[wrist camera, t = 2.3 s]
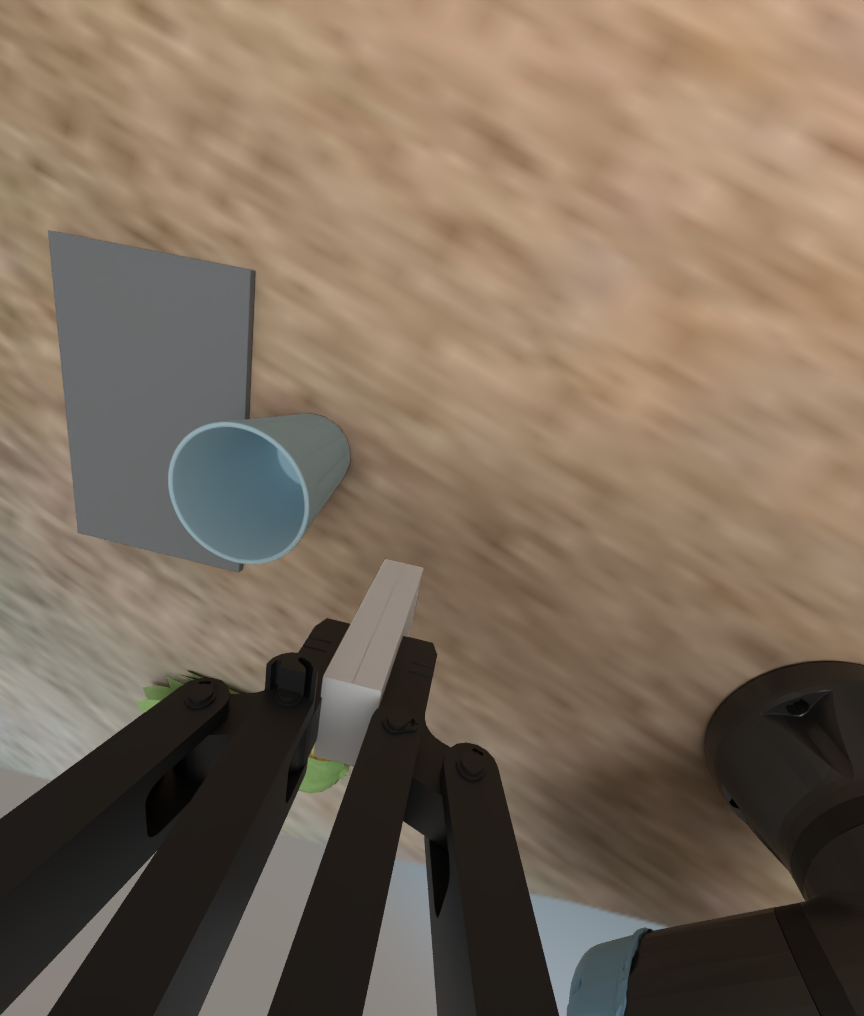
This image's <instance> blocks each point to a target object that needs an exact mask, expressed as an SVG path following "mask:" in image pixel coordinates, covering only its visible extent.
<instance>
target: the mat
mask: <svg viewBox="0 0 864 1016" xmlns="http://www.w3.org/2000/svg"><path fill="white" fill-rule="evenodd" d="M48 236H49V246H50V256H51V266H52V276H53V286H54V297H55V307H56V317H57V327H58V337H59V347H60V357H61V367H62V377H63V387H64V397H65V408H66V418H67V428H68V438H69V448H70V458H71V468H72V478H73V488H74V498H75V509H76V519H77V529H78V533H80V534H84V535H88V536H92V537H97V538H101V539H105V540H109V541H113V542H117V543H121V544H125V545H129V546H133V547H137V548H141V549H145V550H149V551H153V552H157V553H162V554H166V555H170V556H174V557H178V558H182V559H186V560H190V561H194V562H198V563H202V564H206V565H210V566H214V567H218V568H223V569H227V570H231V571H235V572H240V571H241V570H242V569H243V563H237V562H233V561H230V560H227V559H224V558H222V557H220V556H217V555H216V554H214V553H212V552H210V551H209V550H207V549H206V548H205V547H203V546H202V545H201V544H200V543H198V542H197V541H196V540H195V539H194V538H193V537H192V536H191V535H190V533H189V532H188V531H187V530H186V529H185V527H184V526H183V524H182V523H181V521H180V520H179V518H178V516H177V514H176V512H175V510H174V507H173V504H172V501H171V498H170V494H169V487H168V472H169V466H170V462H171V459H172V456H173V454H174V451H175V450H176V448H177V446H178V445H179V444H180V442H181V441H182V440H183V439H184V438H185V437H186V436H187V435H188V434H189V433H191V432H192V431H194V430H195V429H197V428H199V427H201V426H204V425H207V424H210V423H214V422H223V421H233V420H246V419H249V409H250V385H251V361H252V338H253V314H254V291H255V271H253V270H249V269H244V268H239V267H234V266H228V265H223V264H218V263H213V262H208V261H203V260H198V259H193V258H187V257H182V256H177V255H172V254H167V253H162V252H157V251H151V250H146V249H141V248H136V247H131V246H126V245H121V244H116V243H110V242H105V241H100V240H95V239H90V238H85V237H80V236H75V235H69V234H64V233H59V232H54V231H49V230H48Z"/></svg>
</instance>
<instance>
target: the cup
mask: <svg viewBox="0 0 864 1016" xmlns="http://www.w3.org/2000/svg"><path fill="white" fill-rule="evenodd" d="M349 464H350V449H349V444H348V441H347V439H346V437H345V435H344V434H343V432H342V431H341V429H340V428H339V427H338V426H337V425H336V424H334V423H333V422H332V421H330V420H329V419H327V418H326V417H323V416H319V415H315V414H296V415H286V416H276V417H266V418H256V419H246V420H233V421H223V422H214V423H210V424H207V425H204V426H201V427H199V428H197V429H195V430H194V431H192V432H191V433H189V434H188V435H187V436H186V437H185V438H184V439H183V440H182V441H181V442H180V444H179V445H178V446H177V448H176V450H175V451H174V454H173V456H172V459H171V462H170V466H169V472H168V487H169V494H170V498H171V501H172V504H173V507H174V510H175V512H176V514H177V516H178V518H179V520H180V521H181V523H182V524H183V526H184V527H185V529H186V530H187V531H188V532H189V533H190V535H191V536H192V537H193V538H194V539H195V540H196V541H197V542H198V543H200V544H201V545H202V546H203V547H205V548H206V549H207V550H209V551H210V552H212V553H214V554H216V555H217V556H220V557H222V558H224V559H227V560H230V561H233V562H237V563H243V564H262V563H267V562H271V561H274V560H276V559H278V558H280V557H282V556H284V555H285V554H287V553H288V552H289V551H291V550H292V549H293V548H294V547H295V546H296V544H297V543H298V542H299V541H300V539H301V538H302V536H303V535H304V533H305V532H306V531H307V529H308V528H309V526H310V525H311V523H312V522H313V520H314V519H315V518H316V516H317V515H318V513H319V512H320V510H321V509H322V508H323V506H324V505H325V503H326V502H327V500H328V499H329V498H330V496H331V495H332V493H333V492H334V490H335V489H336V488H337V486H338V485H339V483H340V482H341V480H342V479H343V477H344V476H345V474H346V472H347V469H348V466H349Z"/></svg>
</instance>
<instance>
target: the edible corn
mask: <svg viewBox="0 0 864 1016" xmlns="http://www.w3.org/2000/svg"><path fill="white" fill-rule="evenodd" d="M188 672H189V671H188ZM190 673H191V674H192V675H194V676H195V677H197V678H198V679H199V678H203V677H201V676H199V675H196V674H194V673H192V672H190ZM180 676H181V675H180ZM183 677H185V676H183ZM167 678H168V677H167ZM185 678H187V679H190V680H194V679H191V678H188V677H185ZM168 682H169V685H170V687H171V688H170V687H163V686H150V687H143V689H144V691H145V694H146V697H147V698H148V699H149V700H148V699H146V700H142V701H138V702H136V704H137V705H138V706H139V708H140V709H141V710H142V712H144V713H145V712H146V711H148V710H149V709H150V708H152V707H153V706H154V705H156V704H157V703H158V702H160V701H161V700H162V699H164V698H165V697H167V696H168V695H169V694H171V693H172V692H173V691H175V690H176V689H177V688H179V687H180V686H182V685H184V684H182V683H180V682H177V681H175V680H173V679H171V678H168ZM229 691H230V694H241V693H238V692H236V691H233V690H231V689H229ZM314 747H315V744H314ZM314 747H313V749H312V751H311V753H310V755H309V757H308V764H307V770H306V774H305V776H304V779H303V781H302V783H301V785H300V788H299V790H298V791H302V792H306V793H315V792H322V791H324V790H326V789H328V788H330V787H332V786H333V785H334V784H336V783H337V781H338V780H339V778H343V779H344V778H345V776H346V774H347V771H348V769H349V766H350V765H347V764H343V763H339V762H336V761H332V760H328V759H324V758H321V757H317V756H313V755H314Z"/></svg>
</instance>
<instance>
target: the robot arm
mask: <svg viewBox="0 0 864 1016" xmlns="http://www.w3.org/2000/svg"><path fill="white" fill-rule="evenodd" d="M422 573H423V567H418V566H414V565H410V564H406V563H401V562H397V561H393V560H388V559H385V560H384V562H383V564H382V565H381V567H380V569H379V571H378V573H377V575H376V577H375V579H374V581H373V583H372V584H371V586H370V588H369V590H368V592H367V594H366V596H365V598H364V600H363V602H362V603H361V605H360V607H359V609H358V611H357V613H356V615H355V617H354V619H353V621H352V622H351V624H349V623H345V622H341V621H337V620H332V619H328V618H327V619H325V620H324V621H322V622H321V623H319V624H318V625H316V626H315V627H314V629H313V630H312V632H311V633H310V635H309V637H308V639H307V640H306V641H305V643H304V644H303V647H301V649H300V651H299V652H298V653H293V652H291V653H285V654H281V655H278V656H276V657H274V658H272V659H271V660H270V661H269V662H268V663H267V667H266V682H265V690H264V691H261V692H257V693H243V694H230V691H229V688H228V686H227V685H226V684H225V683H224V682H222V681H221V680H218V679H214V678H199V679H196V680H192V681H189V682H187V683H185V684H184V685H182V686H180V687H179V688H177V689H176V690H175V691H173V692H172V693H171V694H169V695H168V696H167V697H165V698H164V699H162V700H161V701H160V702H158V703H157V704H156V705H154V706H153V707H152V708H150V709H149V710H148V711H146V712H145V713H143V714H142V715H141V716H139V717H138V718H137V719H135V720H134V721H133V722H131V723H130V724H129V725H127V726H126V727H124V728H123V729H122V730H120V731H119V732H118V733H116V734H115V735H114V736H112V737H111V738H110V739H108V740H107V741H105V742H104V743H103V744H101V745H100V746H99V747H97V748H96V749H95V750H93V751H92V752H91V753H89V754H88V755H86V756H85V757H84V758H82V759H81V760H80V761H78V762H77V763H76V764H74V765H73V766H72V767H70V768H69V769H67V770H66V771H65V772H63V773H62V774H61V775H59V776H58V777H57V778H55V779H54V780H53V781H51V782H50V783H48V784H47V785H46V786H44V787H43V788H42V789H40V790H39V791H38V792H37V793H35V794H34V795H32V796H31V797H29V798H28V799H27V800H25V801H24V802H23V803H22V804H20V805H19V806H17V807H16V808H15V809H13V810H12V811H10V812H9V813H8V814H7V815H5V816H4V817H2V818H1V819H0V1015H1V1014H2V1013H3V1012H4V1011H5V1010H6V1009H7V1008H8V1007H9V1005H10V1004H11V1003H12V1002H13V1001H14V1000H15V999H16V998H17V997H18V996H19V995H20V994H21V993H22V992H23V991H24V990H25V989H26V988H27V987H28V985H29V984H30V983H31V982H32V981H33V980H34V979H35V978H36V977H37V976H38V975H39V974H40V973H41V972H42V971H43V970H44V968H46V967H47V966H48V964H49V963H50V962H51V961H52V960H53V959H54V958H55V957H56V956H57V955H58V954H59V953H60V952H61V951H62V950H63V949H64V948H65V946H67V945H68V943H69V942H70V941H71V940H72V939H73V938H74V937H75V936H76V935H77V934H78V933H79V932H80V931H81V930H82V929H83V928H84V927H85V926H86V924H87V923H88V922H89V921H90V920H91V919H92V918H93V917H94V916H95V915H96V914H97V913H98V912H99V911H100V910H101V909H102V908H103V907H104V906H105V905H106V904H107V902H108V901H109V900H110V899H111V898H112V897H113V896H114V895H115V894H116V893H117V892H118V891H119V890H120V889H121V888H122V887H123V886H124V885H125V884H126V883H127V881H128V880H129V879H130V878H131V877H132V876H133V875H134V874H135V873H136V872H137V871H138V870H139V869H140V868H141V867H142V866H143V865H144V864H145V863H146V862H147V861H148V859H149V858H150V857H151V856H152V855H153V854H154V853H155V852H156V851H157V852H156V854H155V855H154V856H153V858H152V859H151V861H150V862H149V864H148V866H147V867H146V868H145V870H144V872H143V873H142V874H141V876H140V877H139V879H138V881H137V882H136V883H135V885H134V887H133V888H132V889H131V891H130V892H129V894H128V895H127V897H126V898H125V900H124V901H123V903H122V904H121V906H120V908H119V909H118V911H117V912H116V914H115V915H114V916H113V918H112V919H111V921H110V922H109V924H108V925H107V927H106V928H105V930H104V931H103V933H102V934H101V936H100V937H99V939H98V941H97V942H96V943H95V945H94V946H93V948H92V949H91V951H90V953H89V954H88V955H87V957H86V959H85V960H84V961H83V963H82V964H81V966H80V967H79V969H78V970H77V972H76V973H75V975H74V976H73V978H72V979H71V981H70V983H69V984H68V985H67V987H66V988H65V990H64V991H63V993H62V994H61V996H60V997H59V999H58V1001H57V1002H56V1003H55V1005H54V1007H53V1008H52V1009H51V1011H50V1012H49V1014H48V1015H47V1016H198V1014H199V1012H200V1010H201V1007H202V1005H203V1003H204V1000H205V998H206V996H207V994H208V991H209V989H210V987H211V985H212V983H213V980H214V978H215V976H216V974H217V972H218V969H219V967H220V965H221V963H222V960H223V958H224V956H225V953H226V951H227V949H228V947H229V945H230V942H231V940H232V938H233V936H234V933H235V931H236V929H237V927H238V924H239V922H240V920H241V918H242V915H243V913H244V911H245V909H246V906H247V904H248V902H249V900H250V898H251V895H252V893H253V891H254V888H255V886H256V884H257V882H258V879H259V877H260V875H261V873H262V871H263V868H264V866H265V864H266V862H267V859H268V857H269V855H270V853H271V850H272V848H273V846H274V844H275V841H276V839H277V837H278V835H279V833H280V830H281V828H282V826H283V824H284V821H285V819H286V817H287V815H288V812H289V810H290V808H291V806H292V803H293V801H294V799H295V797H296V794H297V792H298V790H299V788H300V785H301V783H302V781H303V779H304V776H305V774H306V770H307V764H308V757H309V755H310V753H311V751H312V749H313V747H314V744H315V747H314V755H313V756H317V757H321V758H324V759H328V760H332V761H336V762H339V763H343V764H347V765H351V766H354V768H353V771H352V774H351V777H350V780H349V783H348V786H347V788H346V791H345V794H344V797H343V800H342V803H341V806H340V809H339V811H338V814H337V817H336V820H335V823H334V826H333V829H332V831H331V834H330V837H329V840H328V843H327V846H326V849H325V852H324V855H323V858H322V860H321V863H320V866H319V869H318V872H317V875H316V877H315V880H314V883H313V886H312V889H311V892H310V895H309V898H308V900H307V903H306V906H305V909H304V912H303V915H302V918H301V921H300V924H299V926H298V929H297V932H296V935H295V938H294V941H293V943H292V946H291V949H290V952H289V955H288V958H287V961H286V963H285V967H284V969H283V972H282V975H281V978H280V981H279V984H278V987H277V989H276V992H275V995H274V998H273V1001H272V1004H271V1006H270V1009H269V1013H268V1015H267V1016H362V1014H363V1009H364V1004H365V999H366V995H367V990H368V985H369V980H370V975H371V971H372V966H373V961H374V956H375V951H376V947H377V942H378V937H379V933H380V928H381V923H382V918H383V914H384V909H385V904H386V899H387V894H388V890H389V885H390V880H391V875H392V871H393V866H394V861H395V856H396V852H397V847H398V842H399V837H400V832H401V828H402V823H403V821H404V822H405V823H407V824H408V825H410V826H411V827H413V828H414V829H416V830H417V831H419V832H420V833H422V834H423V835H424V836H425V838H424V841H425V854H426V868H427V881H428V894H429V907H430V921H431V935H432V949H433V961H434V976H435V988H436V1002H437V1015H438V1016H559V1013H558V1009H557V1005H556V1001H555V997H554V993H553V989H552V985H551V981H550V977H549V973H548V968H547V965H546V961H545V956H544V952H543V948H542V944H541V940H540V936H539V932H538V928H537V924H536V920H535V916H534V912H533V908H532V903H531V899H530V895H529V891H528V887H527V883H526V879H525V875H524V871H523V867H522V863H521V859H520V855H519V851H518V847H517V843H516V839H515V835H514V830H513V826H512V822H511V818H510V814H509V810H508V806H507V802H506V798H505V794H504V790H503V786H502V782H501V778H500V774H499V770H498V766H497V764H496V762H495V760H494V758H493V757H492V756H491V755H490V754H489V753H488V752H487V750H485V749H483V748H482V747H480V746H478V745H475V744H471V743H459V744H456V745H454V746H453V747H449V746H447V745H445V744H444V743H442V742H441V741H439V740H438V739H436V738H435V737H434V736H433V735H432V734H431V732H430V731H429V729H428V727H427V726H426V722H425V711H426V706H427V701H428V697H429V692H430V687H431V682H432V677H433V672H434V667H435V663H436V658H437V653H436V650H435V647H434V645H433V643H431V642H427V641H423V640H419V639H415V638H410V637H409V634H410V631H411V628H412V623H413V618H414V613H415V608H416V603H417V598H418V593H419V588H420V583H421V578H422ZM705 756H706V761H707V764H708V767H709V769H710V772H711V774H712V776H713V778H714V780H715V782H716V784H717V786H718V788H719V790H720V792H721V794H722V796H723V798H724V799H725V801H726V802H727V804H728V805H729V806H730V807H731V809H732V810H733V811H734V812H735V813H736V814H737V815H738V816H739V817H740V818H741V819H742V820H743V821H744V822H745V823H747V824H748V825H749V827H750V828H751V829H752V831H753V832H754V833H755V834H756V836H757V837H758V838H759V839H760V840H761V841H762V842H763V844H764V845H765V846H766V847H767V848H768V849H769V850H770V851H771V852H772V853H773V855H774V856H775V857H776V858H777V859H778V860H779V861H780V862H781V863H782V864H783V865H784V866H785V867H786V869H787V870H788V871H789V872H790V874H791V875H792V877H793V879H794V881H795V883H796V884H797V886H798V888H799V890H800V892H801V894H802V896H803V897H804V899H805V902H800V903H796V904H791V905H786V906H781V907H775V908H769V909H764V910H758V911H753V912H748V913H743V914H738V915H733V916H727V917H722V918H717V919H712V920H707V921H701V922H696V923H691V924H686V925H681V926H675V927H670V928H665V929H660V930H655V931H653V930H652V929H647V928H641V929H639V930H637V931H636V932H635V933H634V934H633V935H631V936H627V937H624V938H620V939H616V940H612V941H609V942H605V943H601V944H598V945H596V946H594V947H592V948H591V949H589V950H588V951H587V952H586V953H585V954H584V955H583V957H582V959H581V960H580V962H579V964H578V966H577V967H576V970H575V973H574V976H573V979H572V983H571V990H570V997H569V1004H568V1007H567V1016H864V666H862V665H857V664H851V663H841V662H817V663H807V664H800V665H795V666H791V667H787V668H783V669H780V670H777V671H774V672H771V673H768V674H766V675H764V676H761V677H759V678H757V679H755V680H753V681H752V682H750V683H748V684H747V685H745V686H743V687H742V688H741V689H739V690H738V691H737V692H735V693H734V694H733V695H732V696H731V697H729V698H728V699H727V700H726V701H725V702H724V703H723V705H722V706H721V707H720V708H719V709H718V711H717V712H716V714H715V715H714V717H713V719H712V721H711V723H710V725H709V727H708V730H707V734H706V739H705Z"/></svg>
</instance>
